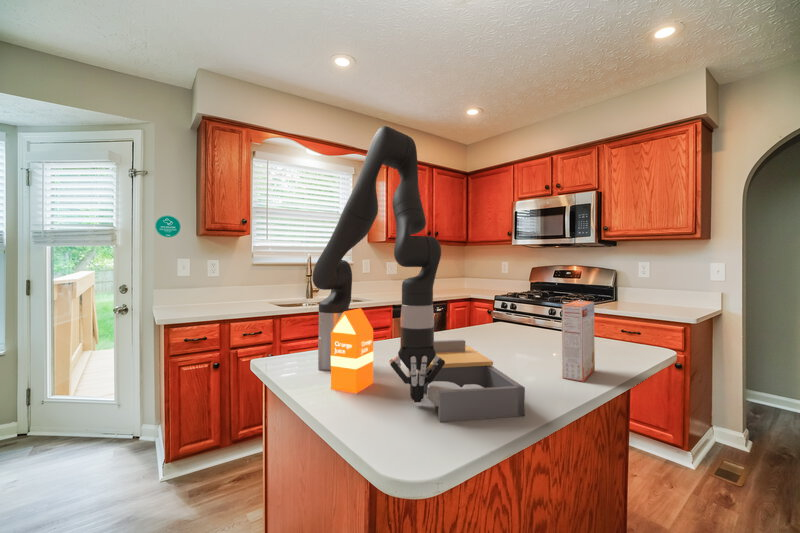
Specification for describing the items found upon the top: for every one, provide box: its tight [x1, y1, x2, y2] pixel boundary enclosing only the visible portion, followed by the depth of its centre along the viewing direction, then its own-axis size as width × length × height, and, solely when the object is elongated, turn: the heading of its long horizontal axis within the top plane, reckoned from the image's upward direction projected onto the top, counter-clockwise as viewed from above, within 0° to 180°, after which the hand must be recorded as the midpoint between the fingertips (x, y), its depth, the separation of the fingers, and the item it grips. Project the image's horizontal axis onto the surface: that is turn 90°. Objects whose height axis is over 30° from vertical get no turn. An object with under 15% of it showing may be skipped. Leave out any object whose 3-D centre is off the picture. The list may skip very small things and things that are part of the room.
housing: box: [424, 365, 526, 423], centre depth 85 cm, size 18×18×6 cm
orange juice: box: [330, 308, 374, 394], centre depth 97 cm, size 8×9×20 cm
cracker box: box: [561, 300, 596, 383], centre depth 107 cm, size 14×6×21 cm, turn 141°
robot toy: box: [426, 381, 483, 407], centre depth 84 cm, size 12×4×15 cm
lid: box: [426, 339, 494, 369], centre depth 101 cm, size 18×18×4 cm
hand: (416, 401), depth 83 cm, fingers closed
